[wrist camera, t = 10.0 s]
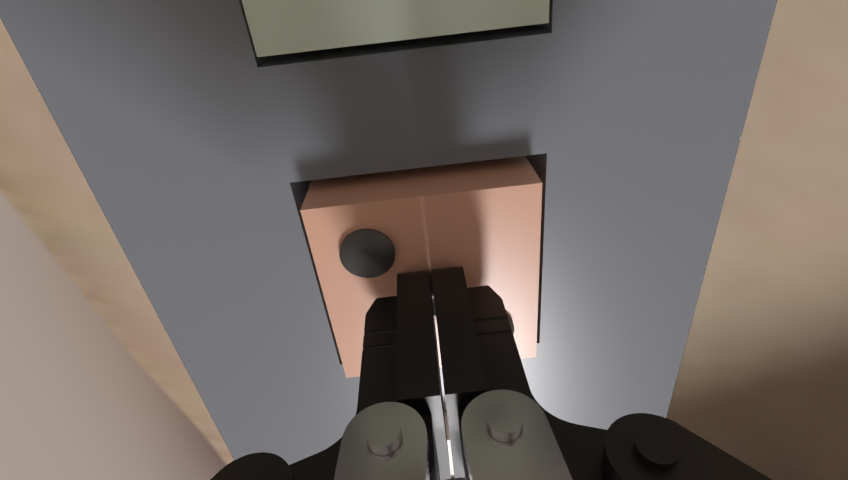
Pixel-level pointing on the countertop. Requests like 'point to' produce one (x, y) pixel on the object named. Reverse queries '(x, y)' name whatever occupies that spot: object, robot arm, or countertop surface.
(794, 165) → the countertop surface
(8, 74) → the countertop surface
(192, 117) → the button panel
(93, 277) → the countertop surface
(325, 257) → the button three dots
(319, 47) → the button two dots
